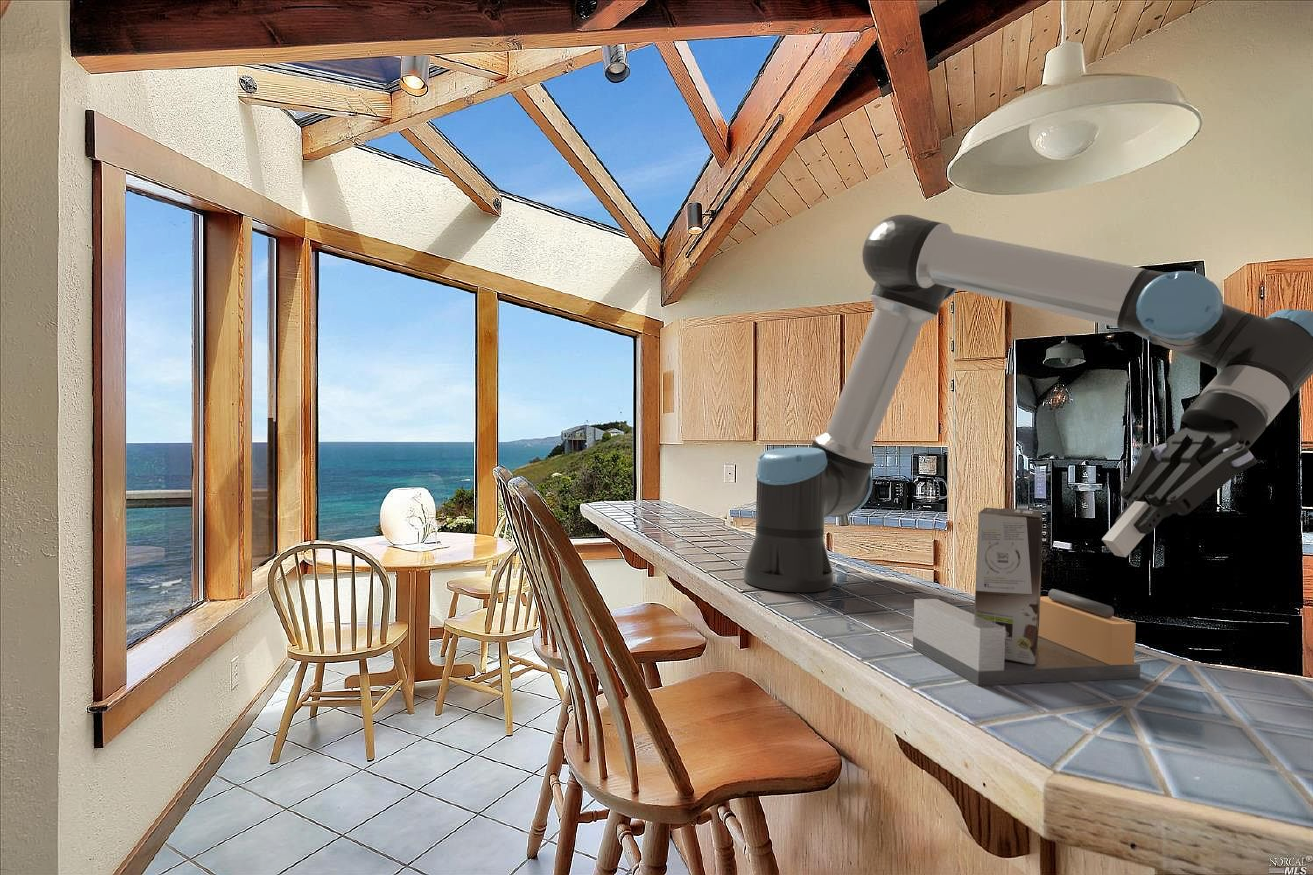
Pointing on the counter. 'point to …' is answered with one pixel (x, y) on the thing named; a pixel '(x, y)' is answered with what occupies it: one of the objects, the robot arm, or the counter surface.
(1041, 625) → the block
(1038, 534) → the coffee box
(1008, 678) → the vise bed
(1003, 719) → the counter surface
